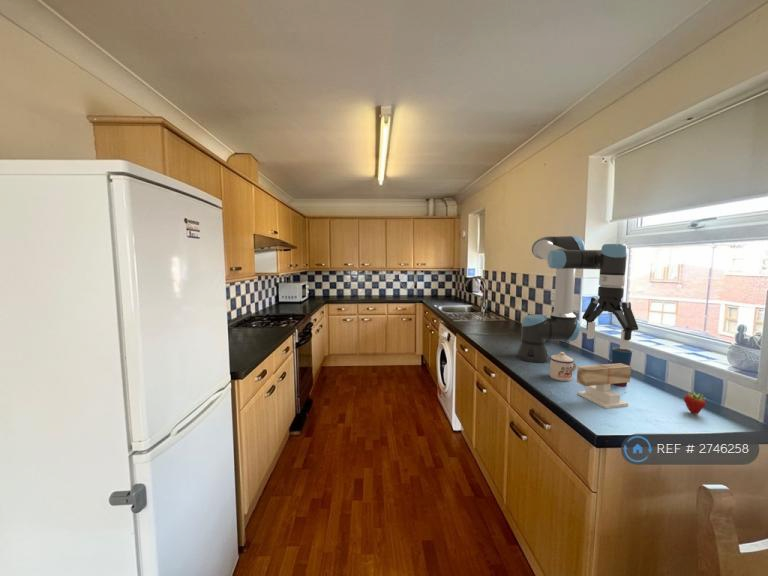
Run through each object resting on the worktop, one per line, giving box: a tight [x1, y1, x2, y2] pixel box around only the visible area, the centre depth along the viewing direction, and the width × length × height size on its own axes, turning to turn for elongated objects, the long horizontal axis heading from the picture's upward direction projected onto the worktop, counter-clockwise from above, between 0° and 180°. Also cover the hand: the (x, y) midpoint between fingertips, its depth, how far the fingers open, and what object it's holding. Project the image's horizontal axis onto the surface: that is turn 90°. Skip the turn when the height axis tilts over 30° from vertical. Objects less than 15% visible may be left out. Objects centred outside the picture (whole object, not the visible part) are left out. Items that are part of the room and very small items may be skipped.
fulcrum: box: [577, 384, 629, 409], centre depth 117 cm, size 12×10×7 cm
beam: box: [576, 363, 632, 387], centre depth 116 cm, size 4×20×6 cm, turn 103°
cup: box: [611, 347, 633, 388], centre depth 132 cm, size 7×7×15 cm
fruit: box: [683, 390, 707, 415], centre depth 107 cm, size 5×5×8 cm
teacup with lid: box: [549, 351, 577, 382], centre depth 139 cm, size 12×9×12 cm
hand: (606, 343), depth 115 cm, fingers open, 13 cm apart
